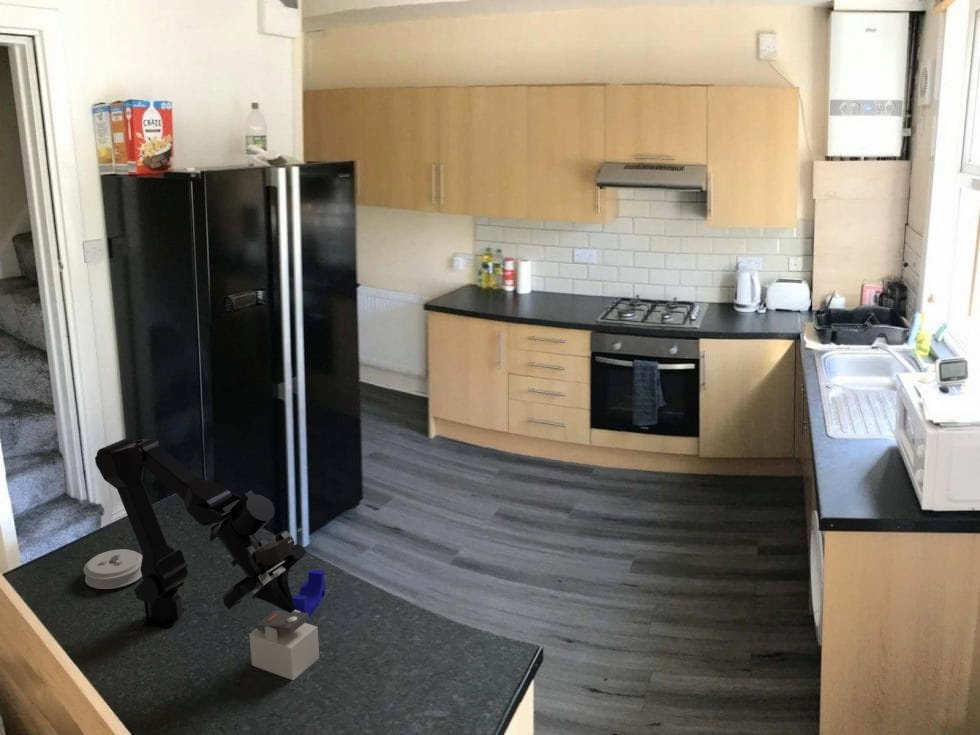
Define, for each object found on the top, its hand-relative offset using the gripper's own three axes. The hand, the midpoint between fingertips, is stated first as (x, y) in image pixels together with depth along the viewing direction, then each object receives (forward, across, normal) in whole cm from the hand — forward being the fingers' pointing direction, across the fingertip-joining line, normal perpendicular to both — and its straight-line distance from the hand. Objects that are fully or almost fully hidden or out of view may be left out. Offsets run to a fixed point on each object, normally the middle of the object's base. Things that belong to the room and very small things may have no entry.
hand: (293, 611), depth 176 cm
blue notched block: (+1, +17, +17) cm, 24 cm away
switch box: (+6, 0, +10) cm, 12 cm away
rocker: (0, 0, +4) cm, 4 cm away
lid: (-32, +7, +49) cm, 59 cm away
